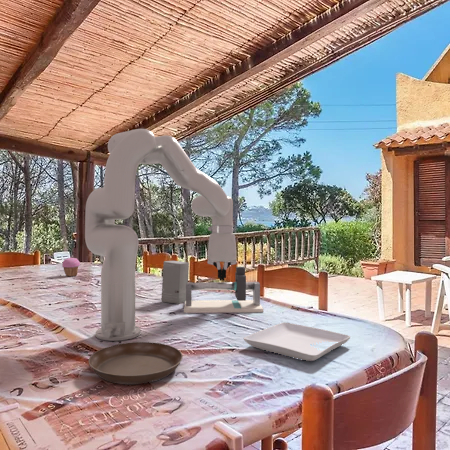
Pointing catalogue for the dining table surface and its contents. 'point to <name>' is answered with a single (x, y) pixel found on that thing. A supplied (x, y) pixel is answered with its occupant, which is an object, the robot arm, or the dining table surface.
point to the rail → (221, 286)
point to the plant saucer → (135, 362)
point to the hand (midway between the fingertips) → (221, 279)
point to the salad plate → (295, 340)
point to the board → (222, 306)
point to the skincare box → (174, 281)
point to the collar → (240, 284)
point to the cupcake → (71, 266)
